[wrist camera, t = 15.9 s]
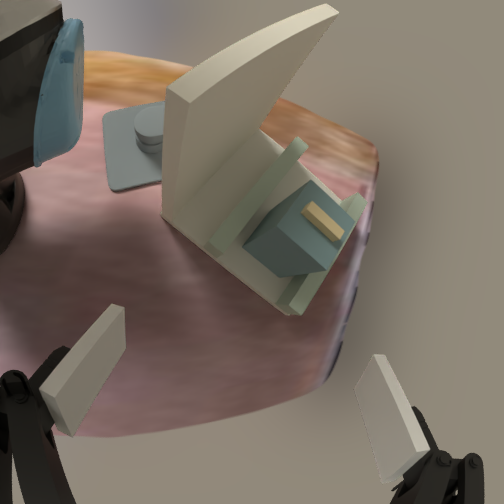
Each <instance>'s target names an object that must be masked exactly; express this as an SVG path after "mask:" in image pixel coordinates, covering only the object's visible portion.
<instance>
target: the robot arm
mask: <svg viewBox="0 0 504 504" xmlns="http://www.w3.org/2000/svg"><path fill="white" fill-rule="evenodd" d="M83 28H84V27H83V23H82V21H81V20H79V19H71V18H70V19H67V20H66V21H65V22H64V20H63V14H62V4H61V2H60V1H58V0H0V255H1V254H2V253H3V252H4V250H5V249H6V248H7V247H8V245H9V244H10V242H11V241H12V239H13V237H14V235H15V233H16V231H17V228H18V226H19V223H20V220H21V216H22V211H23V205H24V186H23V181H22V178H21V175H20V173H19V172H21V171H23V170H25V169H28V168H30V167H33V166H35V167H39V166H41V164H42V163H43V162H45V161H47V160H50V159H52V158H54V157H57V156H59V155H62V154H64V153H66V152H68V151H70V150H71V149H72V148H73V147H74V146H75V145H76V143H77V142H78V140H79V137H80V134H81V130H82V120H83V84H84V35H83ZM125 350H126V335H125V307H122V306H118V305H115V304H111V305H110V306H109V307H108V308H107V309H106V310H105V311H104V312H103V313H102V315H101V316H100V317H99V318H98V319H97V320H96V321H95V322H94V323H93V325H92V326H91V327H90V328H89V329H88V330H87V331H86V332H85V334H84V335H83V336H82V337H81V338H80V339H79V340H78V342H77V343H76V344H75V345H74V346H73V347H72V349H70V348H67V347H65V346H62V347H60V348H58V349H56V350H54V351H53V353H52V354H51V355H50V356H49V357H48V359H46V360H45V362H44V363H43V365H41V366H40V367H39V369H38V370H37V371H36V372H35V373H34V374H33V376H32V377H31V378H30V379H29V380H28V379H27V376H26V375H25V374H24V373H23V372H21V371H19V370H10V371H7V372H6V373H4V374H3V375H2V376H1V378H0V386H1V387H0V504H13V501H12V453H13V458H14V463H15V468H16V472H17V477H18V481H19V485H20V488H21V492H22V495H23V499H24V502H25V504H76V502H75V499H74V497H73V495H72V492H71V490H70V487H69V484H68V482H67V479H66V476H65V473H64V470H63V467H62V464H61V461H60V458H59V454H58V451H57V447H56V444H55V440H54V436H53V432H52V430H51V427H52V426H53V424H54V423H55V425H56V427H57V429H58V430H59V431H61V432H63V433H65V434H67V435H69V436H71V437H73V436H74V435H75V433H76V431H77V429H78V427H79V426H80V424H81V422H82V420H83V419H84V417H85V415H86V413H87V412H88V410H89V408H90V407H91V405H92V403H93V401H94V400H95V398H96V396H97V395H98V393H99V391H100V390H101V388H102V386H103V385H104V383H105V382H106V380H107V378H108V377H109V375H110V373H111V372H112V370H113V369H114V367H115V365H116V364H117V362H118V361H119V359H120V358H121V356H122V354H123V353H124V351H125ZM354 392H355V395H356V398H357V402H358V405H359V408H360V411H361V414H362V417H363V420H364V424H365V427H366V430H367V434H368V436H369V440H370V443H371V447H372V450H373V454H374V457H375V461H376V464H377V468H378V472H379V475H380V479H381V483H388V482H393V481H396V480H397V479H398V478H399V477H401V476H402V475H403V478H404V480H403V481H402V482H400V483H399V484H398V485H397V486H395V487H394V488H393V489H392V490H391V491H394V490H396V489H397V488H398V489H397V491H396V493H395V495H394V497H393V499H392V501H391V502H390V504H484V470H483V462H482V459H481V457H480V456H479V455H477V454H475V453H469V454H467V455H466V456H465V457H464V458H463V459H453V458H452V457H451V456H450V454H449V453H447V452H446V451H442V450H439V449H438V447H437V445H436V443H435V440H434V438H433V436H432V434H431V432H430V430H429V428H428V425H427V423H426V422H425V419H424V417H423V415H422V413H421V412H420V411H419V410H418V409H417V408H416V407H415V406H414V407H411V406H410V404H409V402H408V400H407V398H406V396H405V394H404V392H403V389H402V388H401V385H400V384H399V382H398V380H397V378H396V376H395V374H394V372H393V370H392V368H391V366H390V364H389V362H388V361H387V358H386V356H385V355H379V354H373V355H372V357H371V359H370V361H369V363H368V365H367V367H366V368H365V370H364V372H363V374H362V376H361V377H360V379H359V381H358V383H357V384H356V386H355V388H354ZM456 490H458V494H457V495H455V491H456Z"/></svg>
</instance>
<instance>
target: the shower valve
mask: <svg viewBox="0 0 504 504" xmlns="http://www.w3.org/2000/svg"><path fill="white" fill-rule="evenodd" d="M164 110H165V101H161V102H155V103H149V104H144V105H138V106H133V107H129V108H124V109H119V110H115V111H111V112H108V113H106V114H105V115H104V116H103V119H102V122H103V138H104V150H105V160H106V169H107V178H108V185H109V187H110V189H111V190H112V191H121V190H125V189H129V188H133V187H137V186H142V185H146V184H150V183H155V182H159V181H162V149H163V126H164Z"/></svg>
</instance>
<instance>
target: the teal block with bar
mask: <svg viewBox="0 0 504 504" xmlns="http://www.w3.org/2000/svg"><path fill="white" fill-rule="evenodd" d="M354 223H355V221H354V220H353V219H352V218H351V217H350V216H349V215H348V214H347V213H346V212H345V211H344V210H343V209H342V208H341V207H340V206H339V205H338V204H337V203H336V202H335V201H334V200H333V199H332V198H331V197H330V196H329V195H328V194H327V193H325V192H324V191H323V190H322V189H321V188H320V187H319V186H318V185H317V184H316V183H315V182H313V181H312V180H309V181H308V182H307V183H305V184H304V185H303V186H301V187H300V188H299V189H297V190H296V191H295V192H294V193H292V194H291V195H290V196H288V197H287V198H286V199H284V200H283V201H282V202H280V203H279V204H278V205H276V206H275V207H274V208H273V209H271V210H270V211H269V212H268V213H267V215H266V216H265V217H264V219H263V220H262V221H261V222H260V224H259V225H258V226H257V228H256V229H255V230H254V232H253V233H252V234H251V235H250V237H249V238H248V239H247V241H246V242H245V243H244V245H243V246H242V248H243V249H245V250H246V251H247V252H248V253H249V254H251V255H252V256H253V257H254V258H255V259H257V260H258V261H259V262H260V263H262V264H263V265H264V266H265V267H266V268H268V269H269V270H270V271H271V272H273V273H274V274H275V275H276V276H278V277H279V278H282V277H289V276H295V275H302V274H308V273H315V272H321V271H327V270H328V268H329V267H330V265H331V263H332V262H333V260H334V258H335V256H336V255H337V253H338V251H339V250H340V248H341V246H342V244H343V243H344V241H345V239H346V237H347V236H348V234H349V232H350V230H351V229H352V227H353V225H354Z"/></svg>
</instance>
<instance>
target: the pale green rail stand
mask: <svg viewBox="0 0 504 504" xmlns="http://www.w3.org/2000/svg"><path fill="white" fill-rule="evenodd" d="M339 13H340V12H338V11H337V10H335V9H333V8H332V7H330V6H329V5H328V4H323V5H320V6H317V7H314V8H311V9H309V10H306V11H304V12H301V13H299V14H296V15H293V16H291V17H289V18H286V19H284V20H281V21H279V22H277V23H275V24H273V25H270V26H268V27H266V28H264V29H262V30H260V31H258V32H256V33H254V34H252V35H250V36H248V37H246V38H244V39H242V40H240V41H238V42H236V43H235V44H233V45H231V46H229V47H227V48H226V49H224V50H222V51H220V52H219V53H217V54H215V55H214V56H212V57H210V58H209V59H207V60H206V61H204V62H202V63H201V64H199V65H198V66H196V67H195V68H193V69H192V70H190V71H189V72H187V73H186V74H184V75H183V76H181V77H180V78H178V79H177V80H175V81H174V82H173V83H171V84H170V85H168V86H167V87H166V97H165V110H164V126H163V149H162V211H161V212H160V215H161V217H162V218H164V219H165V220H166V221H167V222H168V223H170V224H171V225H172V226H173V227H174V228H176V229H177V230H178V231H179V232H181V233H182V234H183V235H184V236H185V237H187V238H188V239H189V240H190V241H192V242H193V243H194V244H195V245H196V246H198V247H199V248H200V249H201V250H203V251H204V252H205V253H206V254H208V255H209V256H210V257H211V258H213V259H214V260H215V261H216V262H218V263H219V264H220V265H221V266H223V267H224V268H225V269H226V270H228V271H229V272H230V273H231V274H233V275H234V276H235V277H237V278H238V279H239V280H240V281H242V282H243V283H244V284H245V285H247V286H248V287H249V288H251V289H252V290H253V291H254V292H256V293H257V294H258V295H260V296H261V297H262V298H263V299H265V300H266V301H267V302H269V303H270V304H271V305H272V306H274V307H275V308H276V309H278V310H279V311H280V312H282V313H283V314H284V315H288V316H290V315H291V314H294V315H301V316H302V314H303V313H304V311H305V310H306V308H307V306H308V305H309V303H310V302H311V300H312V298H313V297H314V295H315V294H316V292H317V290H318V289H319V287H320V286H321V284H322V282H323V281H324V279H325V277H326V276H327V274H328V272H329V271H330V269H331V267H332V266H333V264H334V262H335V260H336V259H337V257H338V255H339V254H340V252H341V250H342V248H343V247H344V245H345V243H346V241H347V239H348V238H349V236H350V234H351V232H352V231H353V229H354V227H355V225H356V223H357V221H358V220H359V218H360V216H361V214H362V212H363V210H364V208H365V206H366V204H367V203H368V202H367V201H366V200H365V199H364V198H363V197H362V196H361V195H360V194H359V193H358V192H357V193H356V194H354V195H352V196H350V197H348V198H346V199H344V200H342V201H341V200H340V199H339V198H338V197H337V196H336V195H335V194H334V193H333V192H332V191H331V190H330V189H329V188H328V187H326V186H325V185H324V184H323V183H322V182H321V181H320V180H319V179H318V178H317V177H316V176H314V175H313V174H312V173H311V172H310V171H309V170H308V169H307V168H306V167H304V166H303V165H302V164H301V163H300V162H299V161H297V160H298V159H299V158H300V156H301V155H302V154H303V153H304V151H305V150H306V149H307V148H308V147H309V146H308V145H307V144H306V143H304V142H303V141H302V140H301V139H300V138H299V137H296V138H295V139H294V140H293V141H292V142H291V143H290V145H289V146H288V147H287V148H286V149H283V148H282V147H281V146H280V145H279V144H277V143H276V142H275V141H274V140H272V139H271V138H270V137H269V136H268V135H266V134H265V133H264V132H263V131H261V130H260V129H259V128H260V126H261V124H262V123H263V121H264V120H265V118H266V117H267V115H268V114H269V112H270V110H271V109H272V107H273V106H274V104H275V103H276V101H277V100H278V98H279V97H280V95H281V94H282V92H283V91H284V89H285V88H286V86H287V85H288V83H289V82H290V80H291V79H292V78H293V76H294V75H295V73H296V72H297V70H298V69H299V68H300V66H301V65H302V63H303V62H304V60H305V59H306V58H307V56H308V55H309V53H310V52H311V51H312V49H313V48H314V46H315V45H316V44H317V42H318V41H319V40H320V38H321V37H322V36H323V34H324V33H325V32H326V30H327V29H328V28H329V26H330V25H331V23H332V22H333V21H334V20H335V18H336V17H337V16H338V14H339ZM309 180H312V181H313V182H315V183H316V184H317V185H318V186H319V187H320V188H321V189H322V190H323V191H324V192H325V193H327V194H328V195H329V196H330V197H331V198H332V199H333V200H334V201H335V202H336V203H337V204H338V205H339V206H340V207H341V208H342V209H343V210H344V211H345V212H346V213H347V214H348V215H349V216H350V217H351V218H352V219H353V220H354V221H355V223H354V225H353V227H352V229H351V230H350V232H349V234H348V236H347V237H346V239H345V241H344V243H343V244H342V246H341V248H340V250H339V251H338V253H337V255H336V256H335V258H334V260H333V262H332V263H331V265H330V267H329V268H328V270H327V271H321V272H315V273H308V274H302V275H295V276H289V277H282V278H279V277H278V276H276V275H275V274H274V273H273V272H271V271H270V270H269V269H268V268H266V267H265V266H264V265H263V264H262V263H260V262H259V261H258V260H257V259H255V258H254V257H253V256H252V255H251V254H249V253H248V252H247V251H246V250H245V249H243V248H242V246H243V245H244V243H245V242H246V241H247V239H248V238H249V237H250V235H251V234H252V233H253V232H254V230H255V229H256V228H257V226H258V225H259V224H260V222H261V221H262V220H263V219H264V217H265V216H266V215H267V213H268V212H269V211H270V210H271V209H273V208H274V207H275V206H276V205H278V204H279V203H280V202H282V201H283V200H284V199H286V198H287V197H288V196H290V195H291V194H292V193H294V192H295V191H296V190H297V189H299V188H300V187H301V186H303V185H304V184H305V183H307V182H308V181H309Z"/></svg>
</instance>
